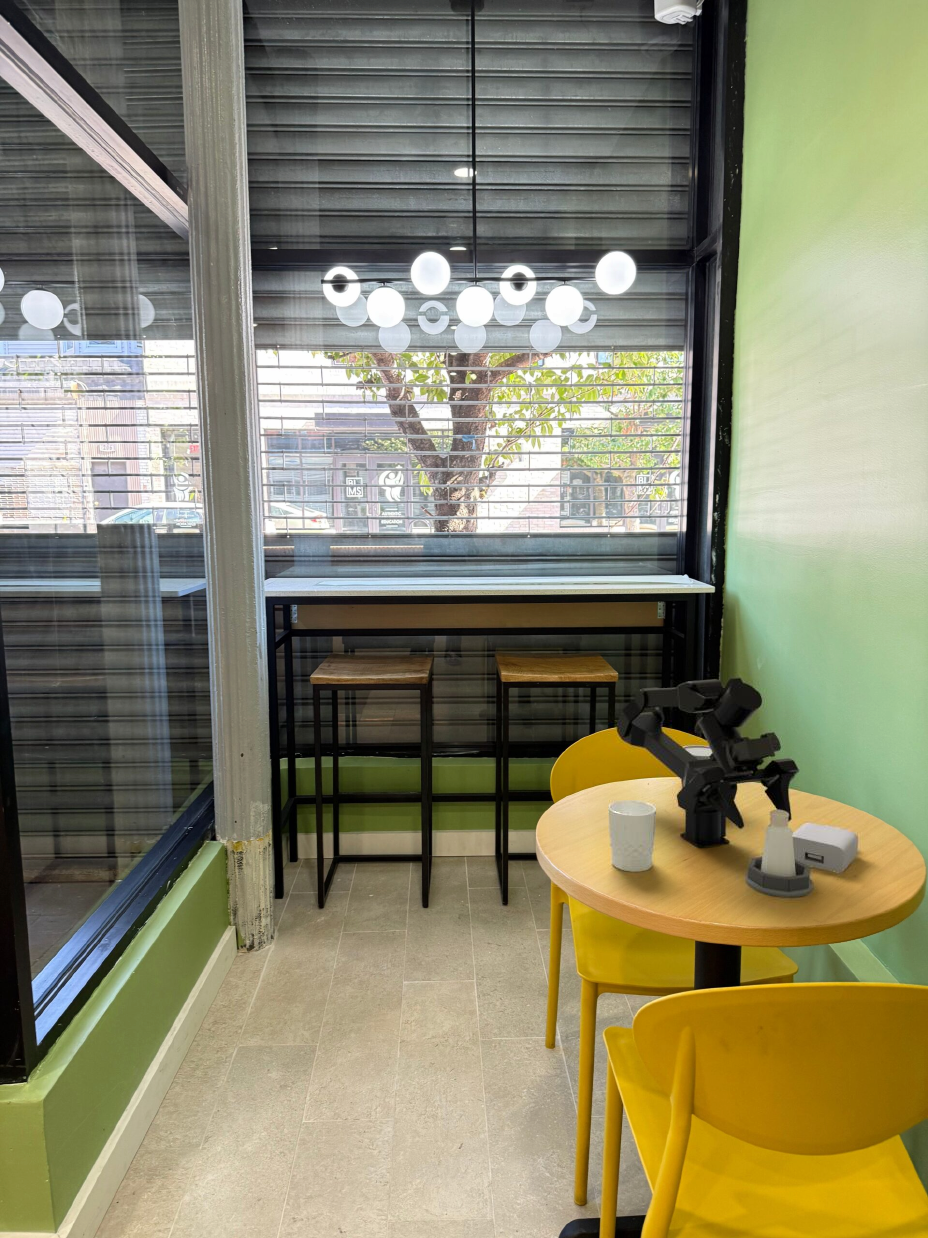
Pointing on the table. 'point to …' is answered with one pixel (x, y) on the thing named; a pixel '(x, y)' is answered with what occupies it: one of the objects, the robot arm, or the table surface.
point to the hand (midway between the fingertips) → (766, 824)
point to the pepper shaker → (778, 846)
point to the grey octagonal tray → (779, 880)
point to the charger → (825, 846)
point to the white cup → (632, 834)
